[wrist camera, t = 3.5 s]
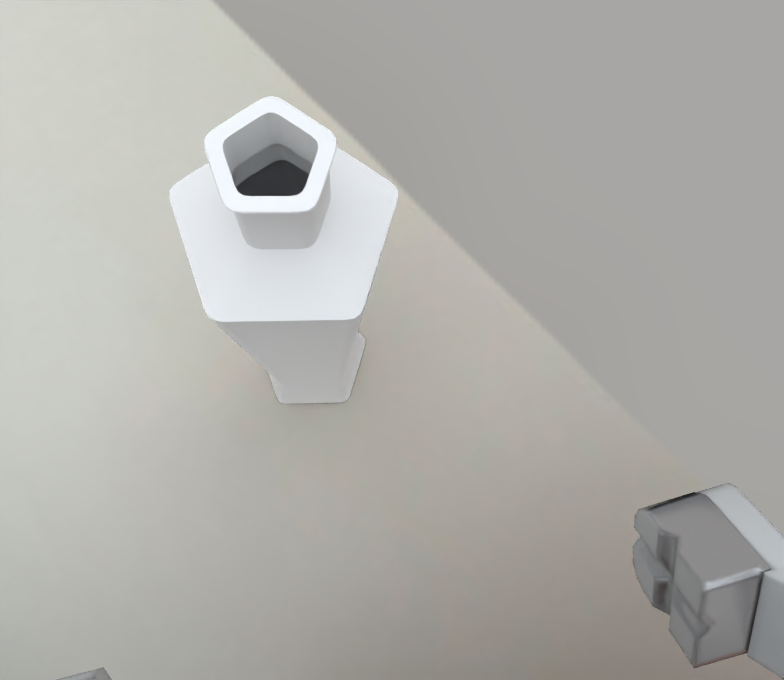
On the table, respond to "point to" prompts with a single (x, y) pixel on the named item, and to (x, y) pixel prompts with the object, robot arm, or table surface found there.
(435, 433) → the table surface
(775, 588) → the robot arm
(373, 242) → the perfume bottle
